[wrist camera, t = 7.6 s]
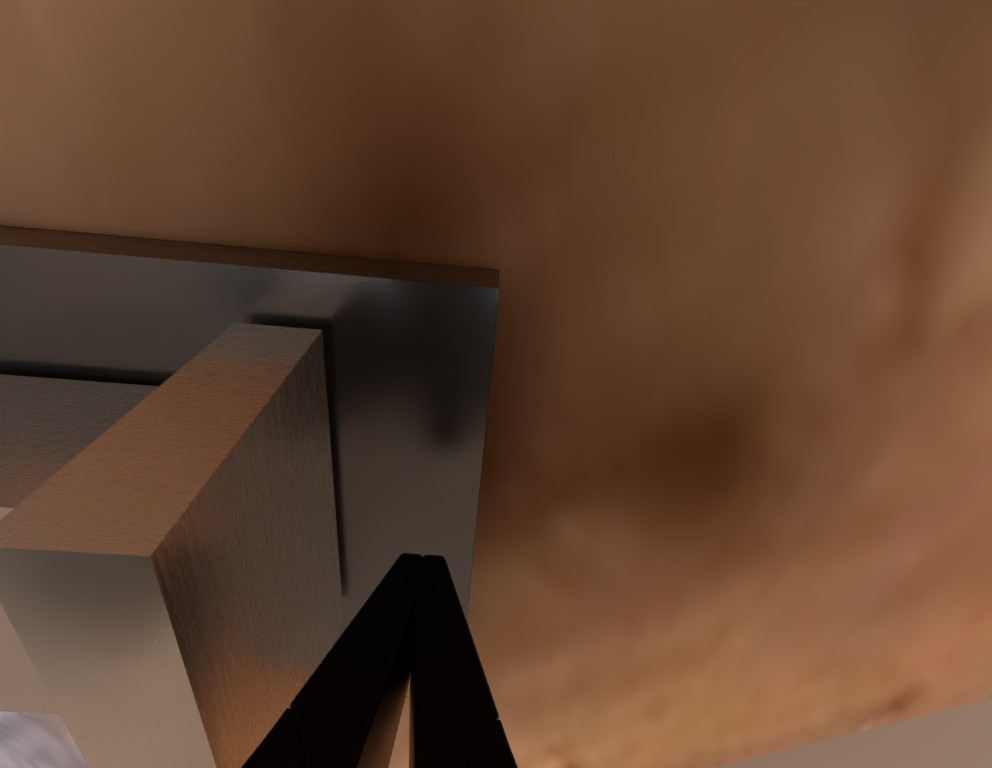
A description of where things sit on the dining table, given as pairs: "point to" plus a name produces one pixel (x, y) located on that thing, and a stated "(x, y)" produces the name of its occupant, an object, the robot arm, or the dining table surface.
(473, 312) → the gauge bench
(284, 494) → the block with end plate
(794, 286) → the dining table surface
